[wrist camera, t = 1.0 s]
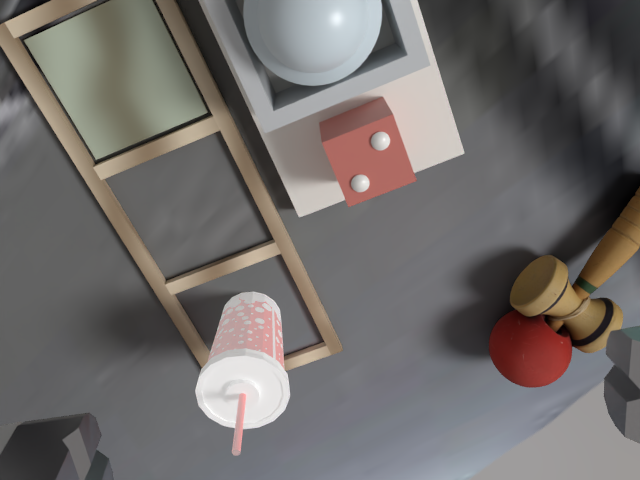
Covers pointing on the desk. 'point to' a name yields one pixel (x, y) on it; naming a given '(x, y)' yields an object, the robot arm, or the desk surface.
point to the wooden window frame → (145, 128)
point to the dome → (312, 36)
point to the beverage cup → (245, 367)
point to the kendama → (562, 308)
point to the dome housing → (347, 111)
